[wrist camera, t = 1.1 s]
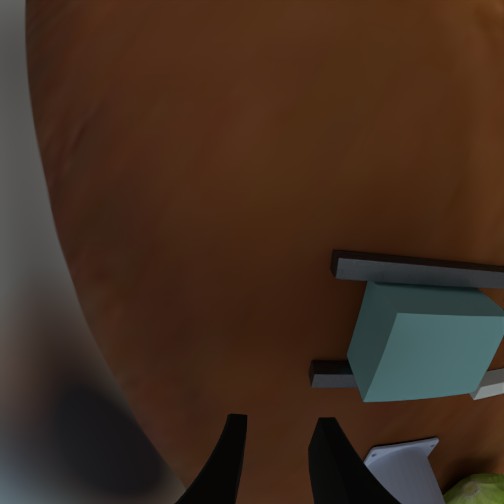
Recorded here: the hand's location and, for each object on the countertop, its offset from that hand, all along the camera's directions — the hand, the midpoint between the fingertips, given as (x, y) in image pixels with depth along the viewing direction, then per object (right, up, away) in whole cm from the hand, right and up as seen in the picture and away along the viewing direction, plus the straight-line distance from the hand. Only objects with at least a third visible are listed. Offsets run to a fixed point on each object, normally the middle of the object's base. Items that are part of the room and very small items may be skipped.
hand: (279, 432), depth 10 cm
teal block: (+10, +2, +9) cm, 14 cm away
